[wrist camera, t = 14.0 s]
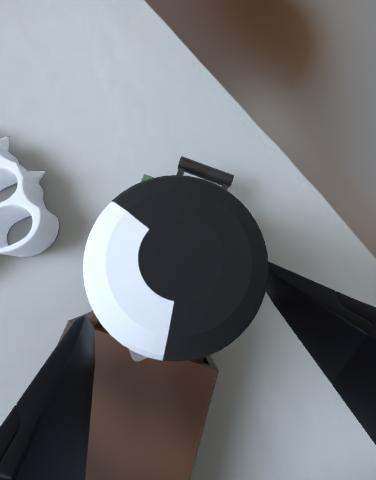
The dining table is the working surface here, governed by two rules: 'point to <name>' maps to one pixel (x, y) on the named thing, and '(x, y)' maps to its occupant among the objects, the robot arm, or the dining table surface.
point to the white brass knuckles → (24, 207)
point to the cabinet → (145, 413)
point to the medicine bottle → (175, 268)
